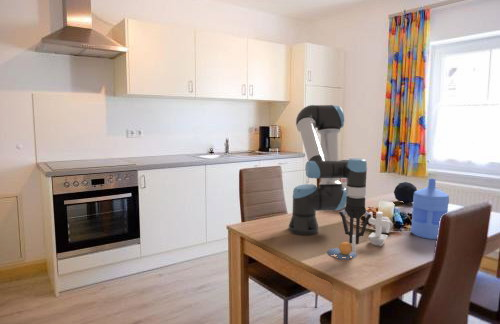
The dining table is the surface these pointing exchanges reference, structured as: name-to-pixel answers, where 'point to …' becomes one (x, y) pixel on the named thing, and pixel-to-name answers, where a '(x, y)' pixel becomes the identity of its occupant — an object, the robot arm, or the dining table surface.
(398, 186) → the decorative orb
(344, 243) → the ball
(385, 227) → the die
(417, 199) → the water jug
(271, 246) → the dining table surface
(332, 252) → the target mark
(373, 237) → the figurine
